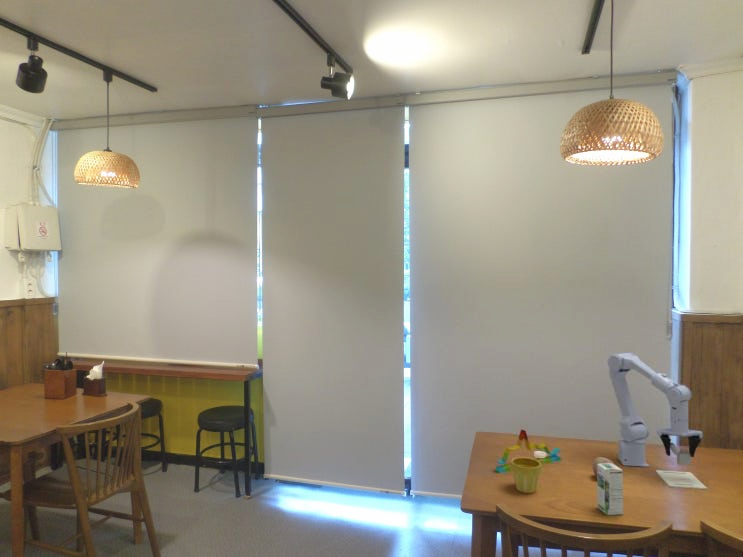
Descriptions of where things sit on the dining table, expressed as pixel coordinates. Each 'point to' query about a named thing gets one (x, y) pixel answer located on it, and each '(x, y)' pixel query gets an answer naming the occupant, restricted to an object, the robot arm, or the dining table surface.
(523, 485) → the plant pot
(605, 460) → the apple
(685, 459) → the lighter
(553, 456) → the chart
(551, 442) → the dining table surface
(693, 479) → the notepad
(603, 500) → the syrup box
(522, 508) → the dining table surface
